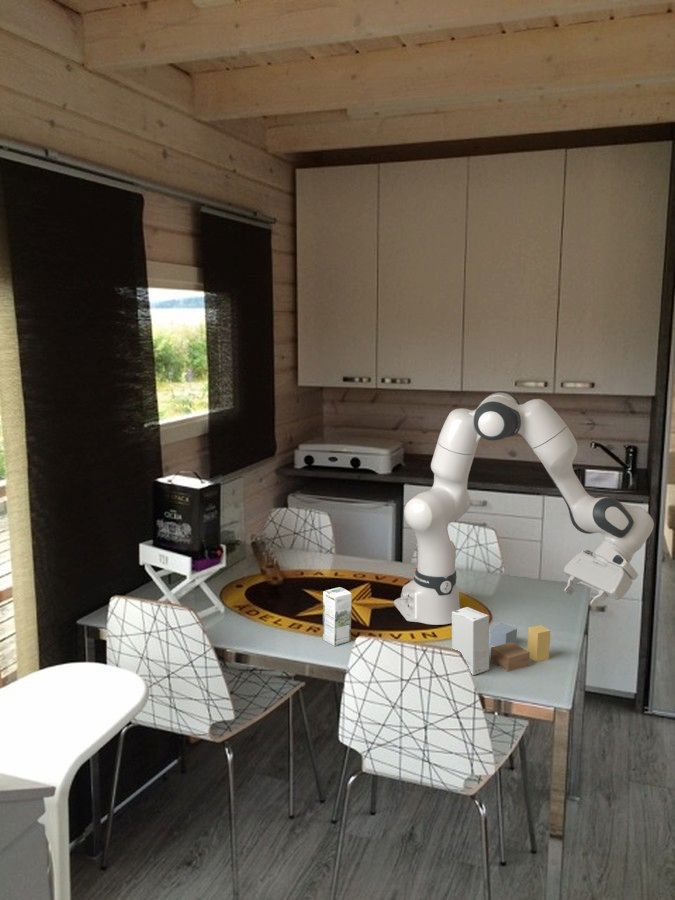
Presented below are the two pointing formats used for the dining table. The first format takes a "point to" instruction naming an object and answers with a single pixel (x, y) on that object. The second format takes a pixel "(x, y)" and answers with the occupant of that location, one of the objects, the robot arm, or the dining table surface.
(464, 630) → the skincare box
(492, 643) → the slate cube
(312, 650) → the dining table surface
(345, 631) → the syrup box
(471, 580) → the dining table surface
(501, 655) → the walnut block
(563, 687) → the dining table surface
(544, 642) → the ochre post
